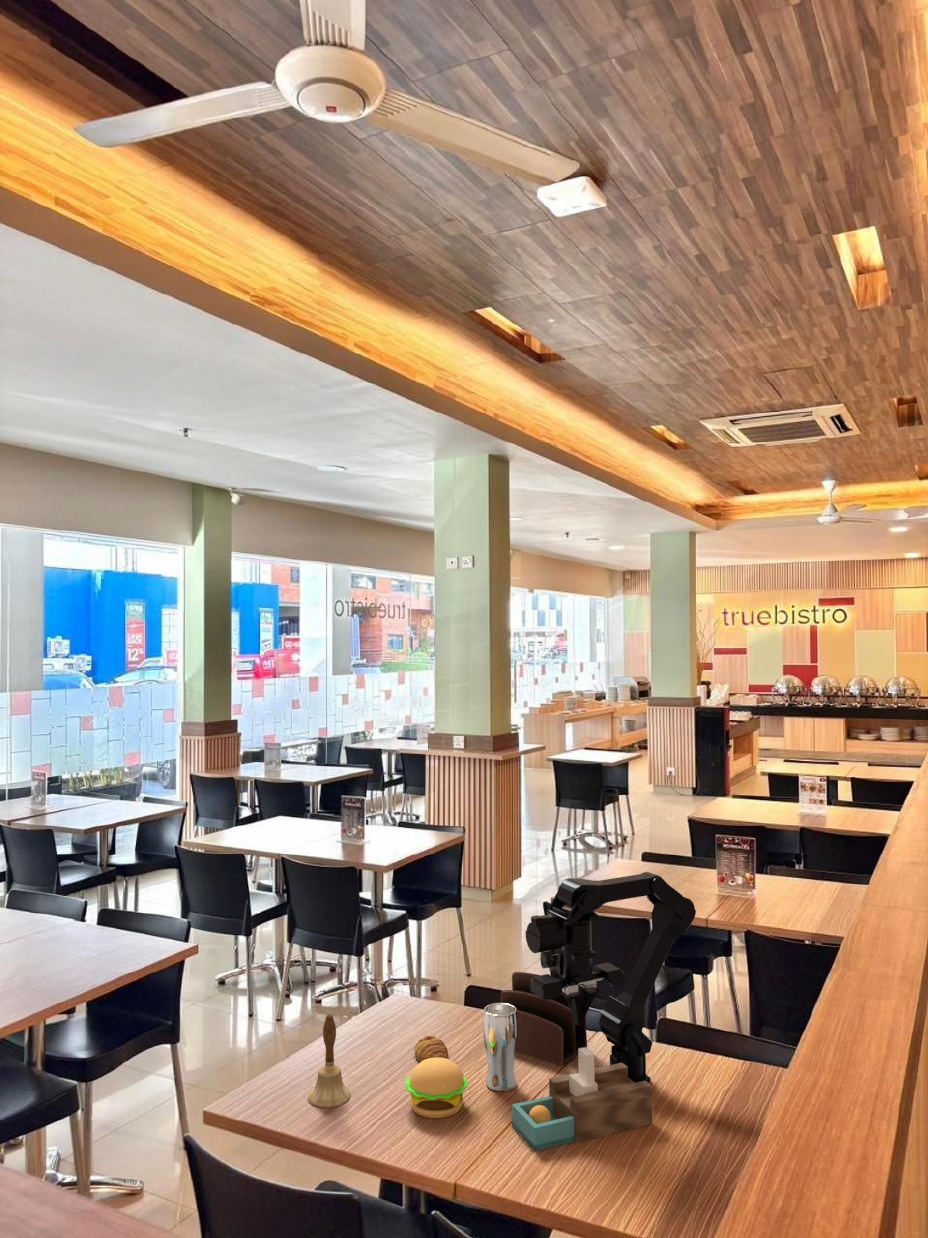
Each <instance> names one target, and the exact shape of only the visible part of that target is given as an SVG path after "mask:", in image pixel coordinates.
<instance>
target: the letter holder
mask: <svg viewBox="0 0 928 1238" xmlns="http://www.w3.org/2000/svg"><path fill="white" fill-rule="evenodd" d="M540 975H541V974H536V973H531V972H525V971H524V972H523V971H514V972H513V973H512V975H511V986H512V987H511V988H512V989H504V990H502V991H501V992H500V1003H507V1004H511V1005H513V1006H515V1007H516V1009H517V1010H516V1011H517V1023H518V1039H517V1047H516V1052H520V1053H523V1054H525V1055H529V1056H532V1057H535V1058H537V1059H541V1060H544V1061H547V1062H549V1063H552V1062H553V1064H555V1065H558V1066H562V1067H564V1066H566V1064H568V1063H570V1062H571V1061H573V1060H575V1059H576V1058H577V1057H578V1049H579V1048H584V1047H586V1048H587V1049H588V1036H587V1015H586V1016H585V1018H584V1020H583V1022H582V1024H581V1025H577V1024H575V1021H574V1018H573V1016H572V1013H571V1010H570V1007H569V1005H568V1002H567V1000H566V998H565V996H564V995H562V994H561V995H560V997H559V998H554V999H549V1000H544V999H542V998H541V997H539V996H538V995H536V994H535V993H533V992H532V991H531V988H530V982H531V980H532V978H533V977H535V976H540Z"/></svg>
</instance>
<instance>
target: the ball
mask: <svg viewBox="0 0 928 1238" xmlns="http://www.w3.org/2000/svg"><path fill="white" fill-rule="evenodd" d="M529 1117H530V1118H531V1119H532V1120H533V1121H534V1122H535V1123H536V1124H540V1123H544V1122H549V1121H551V1114H550V1112H549V1110H548V1109H547V1108H546V1107H544V1106H542V1105H537V1106H535V1107H533V1108H532V1109H531V1111H530V1113H529Z"/></svg>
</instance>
